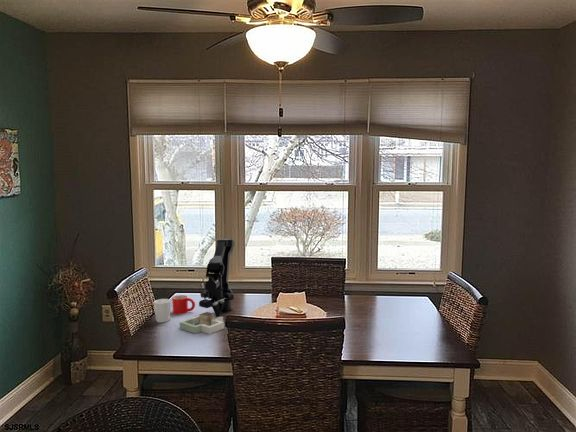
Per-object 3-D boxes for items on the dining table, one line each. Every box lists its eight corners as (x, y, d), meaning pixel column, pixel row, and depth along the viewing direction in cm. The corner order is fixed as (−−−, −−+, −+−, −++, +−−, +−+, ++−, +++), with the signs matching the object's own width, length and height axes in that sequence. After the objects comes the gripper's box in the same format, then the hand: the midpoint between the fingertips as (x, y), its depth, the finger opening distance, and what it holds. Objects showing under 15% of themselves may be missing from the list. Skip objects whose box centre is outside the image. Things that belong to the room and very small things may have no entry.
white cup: (166, 323, 244) (165, 303, 243) (152, 322, 246) (151, 303, 244) (173, 318, 252) (172, 299, 250) (159, 317, 253) (158, 298, 252)
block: (207, 321, 246) (207, 311, 245) (214, 323, 242) (213, 313, 242) (199, 324, 242) (199, 314, 241) (206, 326, 239) (206, 316, 238)
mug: (193, 314, 257) (192, 299, 256) (171, 314, 258) (170, 299, 257) (197, 309, 265) (196, 295, 264) (175, 309, 266) (174, 295, 265)
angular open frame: (207, 318, 250) (207, 312, 250) (231, 325, 239) (231, 319, 238) (179, 328, 237) (179, 322, 236) (203, 336, 225) (203, 329, 225)
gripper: (219, 280, 258) (220, 308, 260) (191, 288, 243) (192, 318, 245) (234, 283, 250) (235, 312, 252) (205, 291, 236) (207, 323, 238)
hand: (217, 316), depth 247 cm, fingers closed
